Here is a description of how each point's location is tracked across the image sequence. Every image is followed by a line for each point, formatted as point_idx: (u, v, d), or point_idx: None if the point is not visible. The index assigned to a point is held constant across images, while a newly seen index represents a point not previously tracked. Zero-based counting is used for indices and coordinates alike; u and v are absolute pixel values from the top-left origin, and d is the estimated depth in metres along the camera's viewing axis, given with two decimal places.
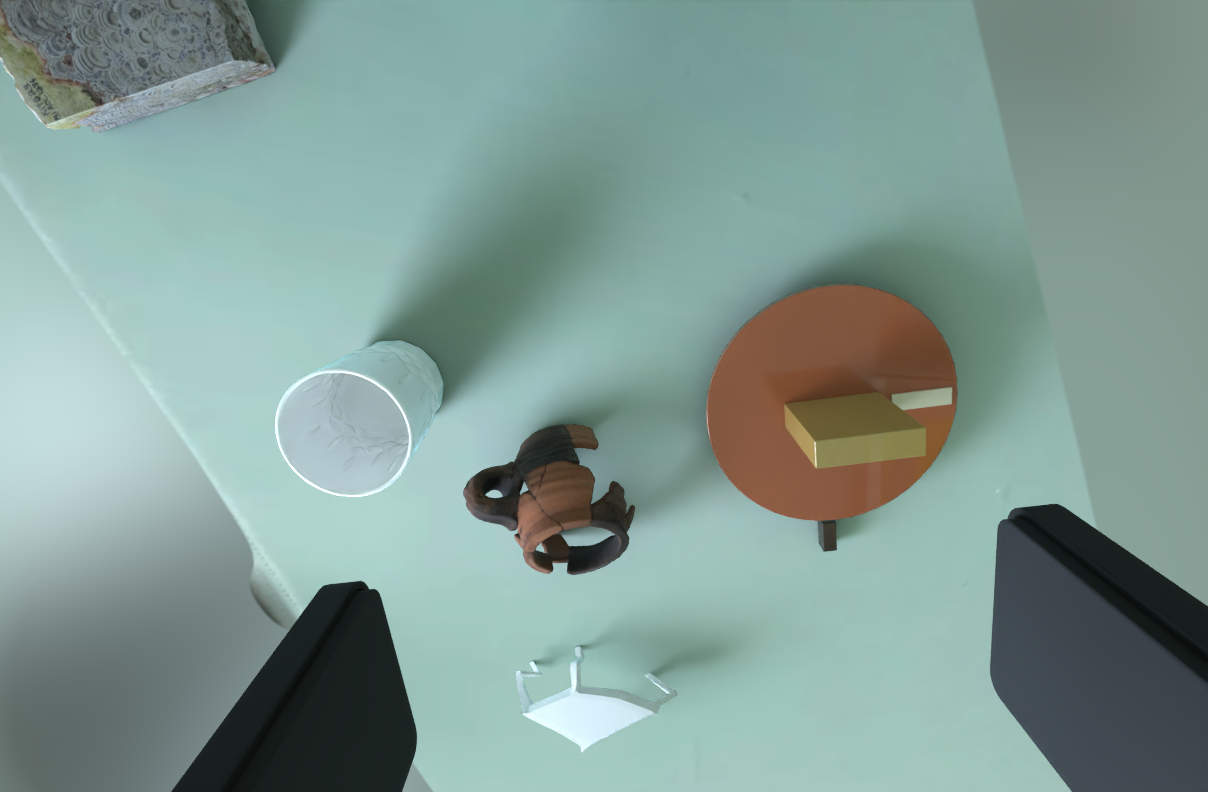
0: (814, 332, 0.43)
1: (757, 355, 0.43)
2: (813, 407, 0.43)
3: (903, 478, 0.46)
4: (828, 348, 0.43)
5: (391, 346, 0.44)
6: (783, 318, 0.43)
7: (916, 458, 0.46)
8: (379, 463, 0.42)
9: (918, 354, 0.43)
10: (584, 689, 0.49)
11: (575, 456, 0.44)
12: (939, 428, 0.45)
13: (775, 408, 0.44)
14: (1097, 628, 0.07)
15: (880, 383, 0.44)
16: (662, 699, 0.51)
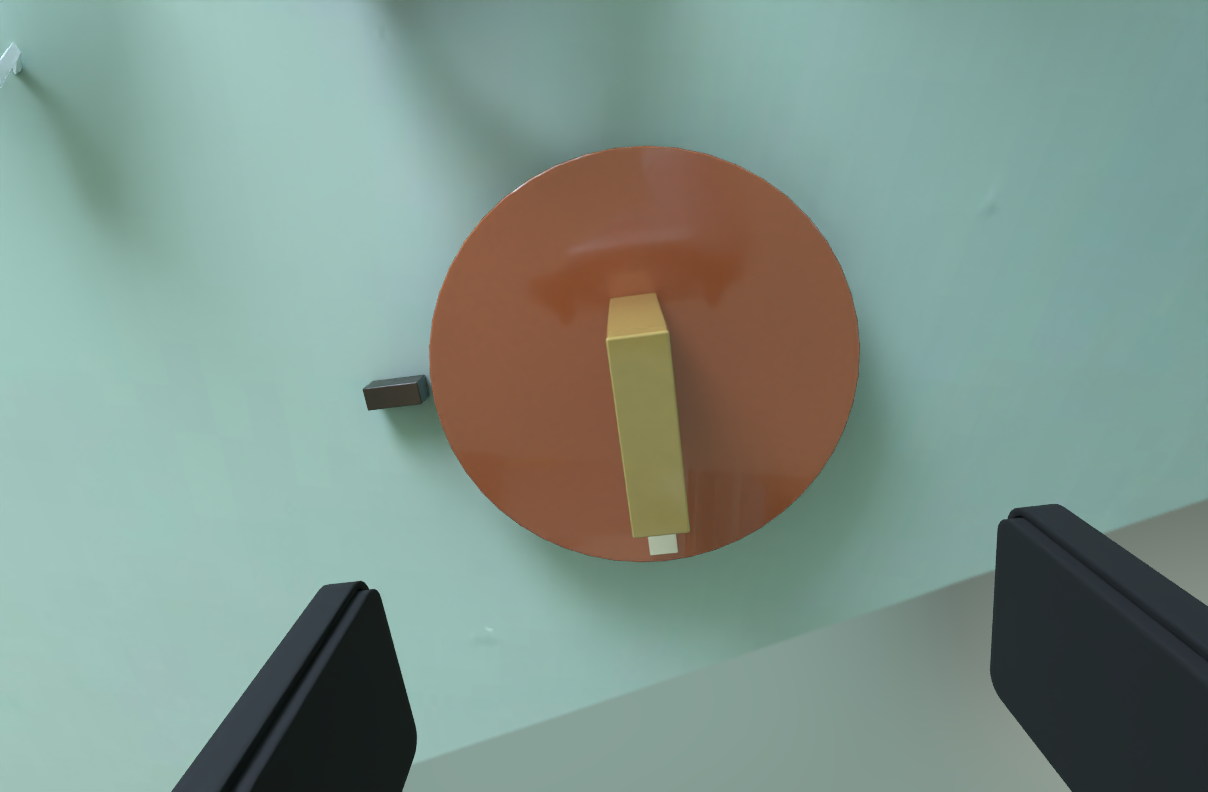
0: (782, 334, 0.25)
1: (747, 238, 0.24)
2: None
3: (520, 501, 0.28)
4: (753, 359, 0.25)
5: None
6: (811, 279, 0.24)
7: (554, 516, 0.28)
8: None
9: (732, 499, 0.27)
10: None
11: None
12: (607, 543, 0.28)
13: (646, 278, 0.25)
14: (1097, 628, 0.07)
15: (686, 448, 0.27)
16: None
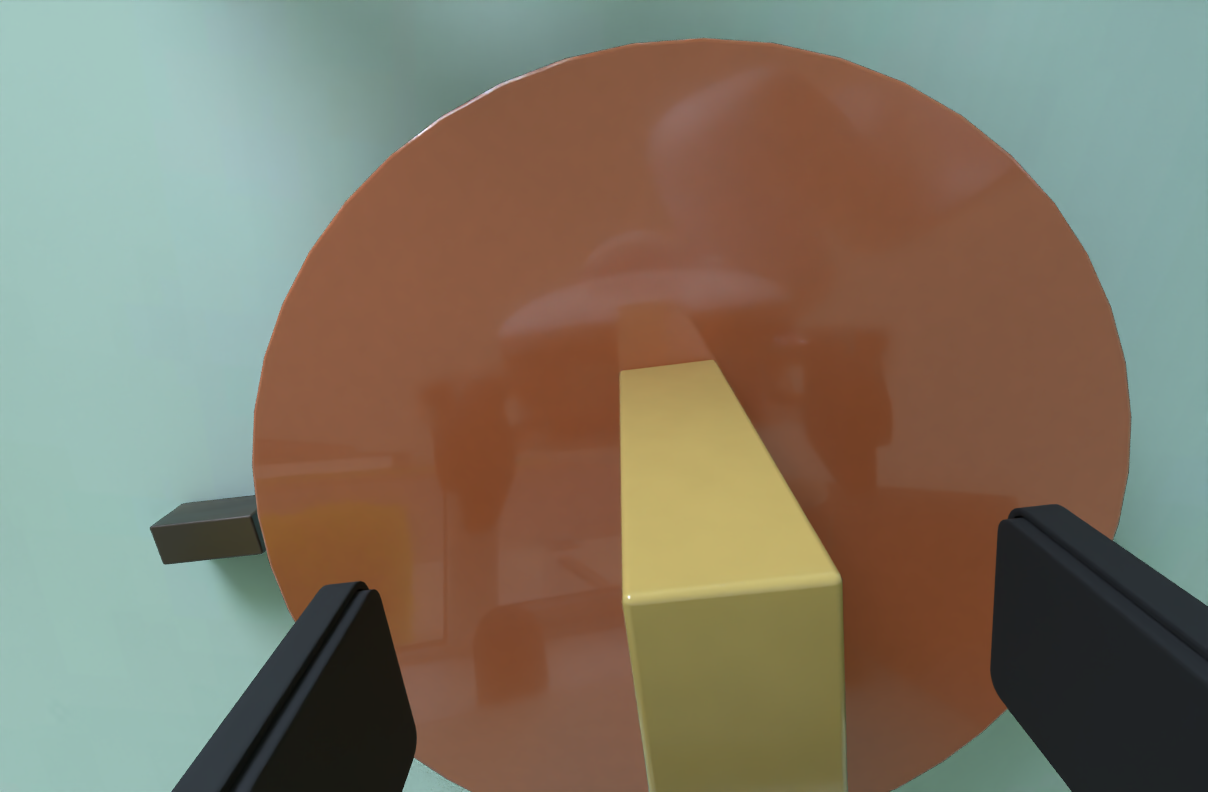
0: (972, 444, 0.12)
1: (918, 245, 0.11)
2: None
3: (445, 741, 0.15)
4: (908, 492, 0.13)
5: None
6: (1045, 333, 0.12)
7: (512, 766, 0.15)
8: None
9: (849, 740, 0.14)
10: None
11: None
12: None
13: (696, 329, 0.12)
14: (1097, 628, 0.07)
15: None
16: None
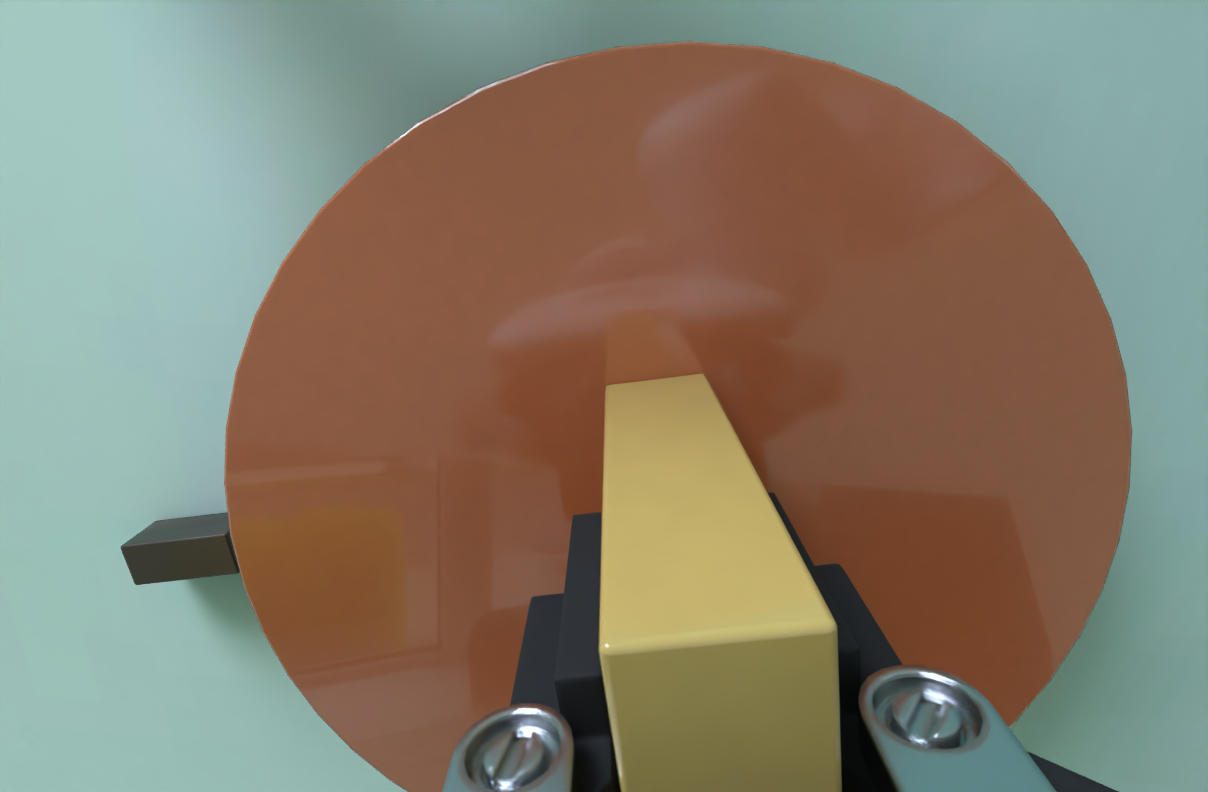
0: (969, 459, 0.12)
1: (913, 256, 0.11)
2: None
3: (429, 767, 0.14)
4: (904, 509, 0.12)
5: None
6: (1043, 346, 0.11)
7: None
8: None
9: None
10: None
11: None
12: None
13: (685, 342, 0.11)
14: None
15: None
16: None
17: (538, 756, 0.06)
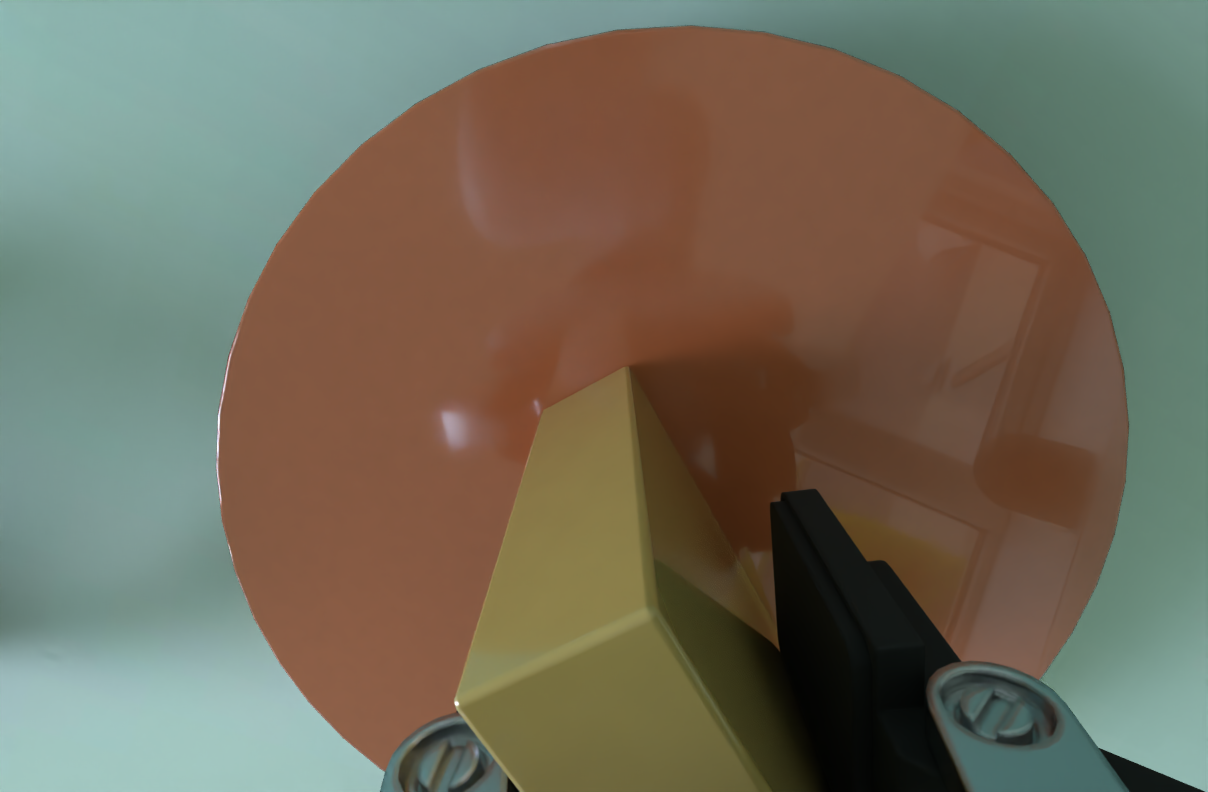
0: (925, 348, 0.11)
1: (777, 176, 0.10)
2: (678, 469, 0.10)
3: None
4: (881, 420, 0.12)
5: None
6: (951, 209, 0.11)
7: None
8: None
9: None
10: None
11: None
12: None
13: (597, 344, 0.11)
14: (805, 590, 0.09)
15: None
16: None
17: (473, 765, 0.06)
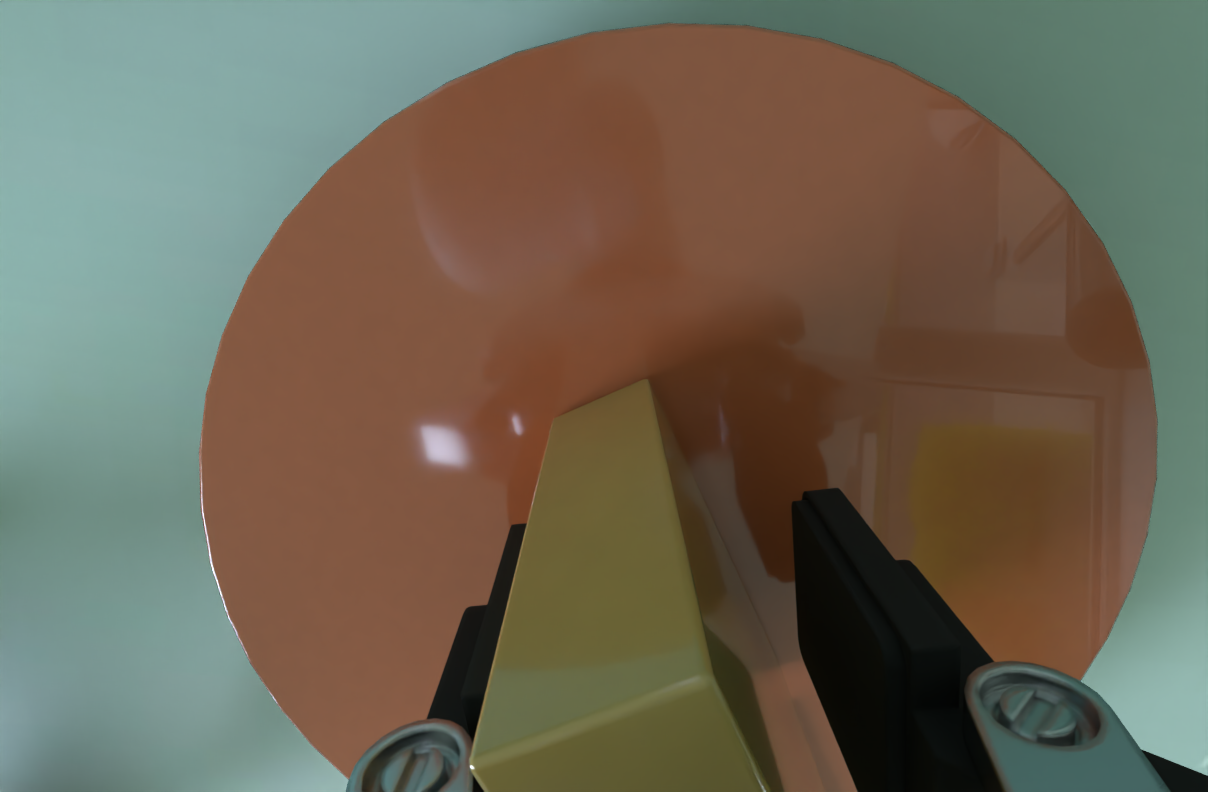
0: (958, 383, 0.11)
1: (822, 193, 0.10)
2: (695, 493, 0.10)
3: None
4: (904, 454, 0.11)
5: None
6: (999, 241, 0.10)
7: None
8: None
9: None
10: None
11: None
12: None
13: (616, 352, 0.11)
14: (832, 590, 0.09)
15: None
16: None
17: (437, 773, 0.06)
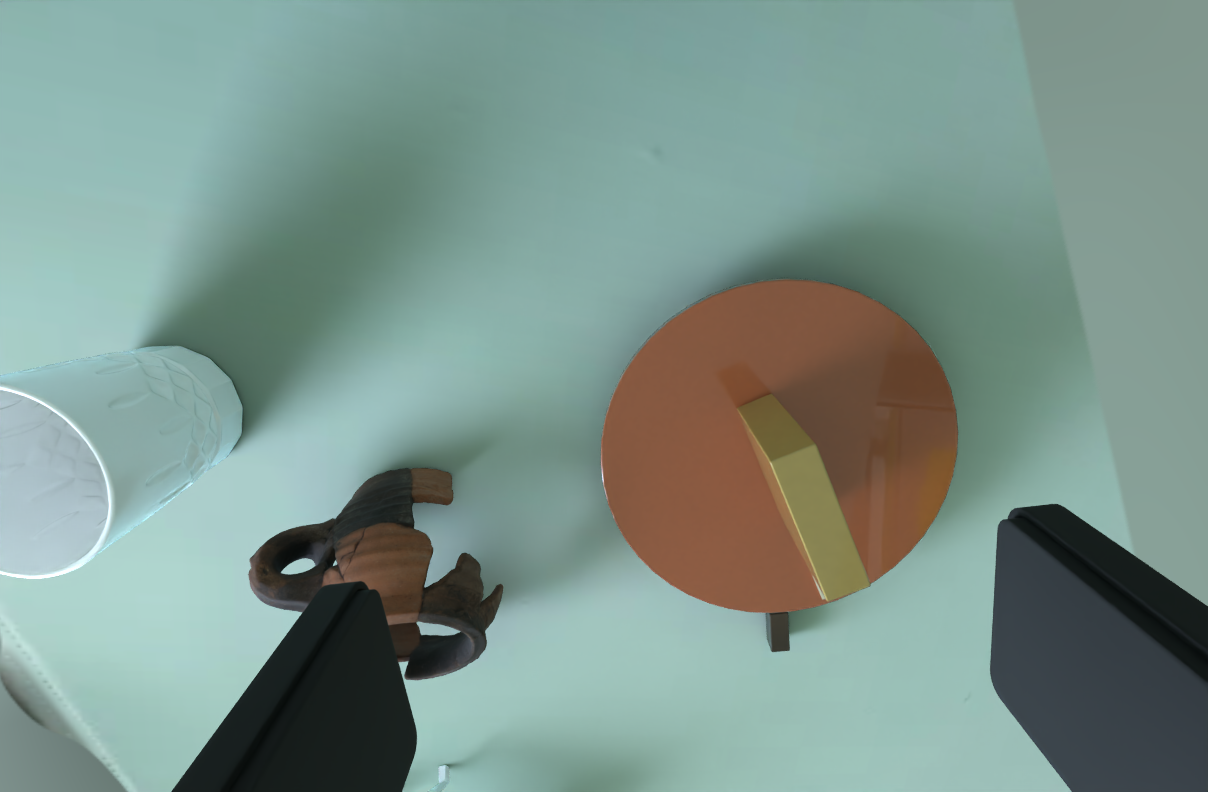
0: (883, 396, 0.30)
1: (834, 331, 0.30)
2: None
3: (703, 584, 0.33)
4: (864, 422, 0.31)
5: (151, 353, 0.31)
6: (894, 347, 0.30)
7: (735, 588, 0.33)
8: None
9: (878, 536, 0.32)
10: None
11: (409, 516, 0.31)
12: (784, 598, 0.33)
13: (761, 384, 0.30)
14: (1097, 628, 0.07)
15: None
16: None
17: None
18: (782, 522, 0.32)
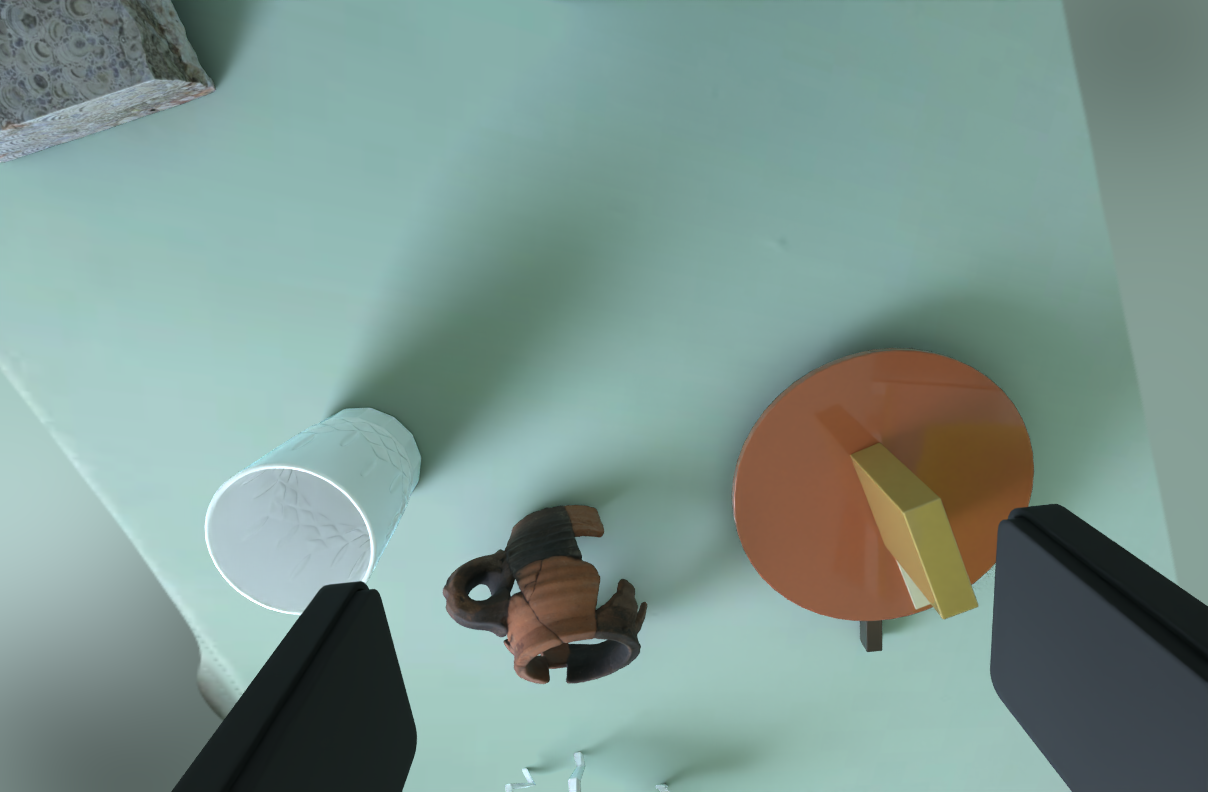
0: (972, 443, 0.36)
1: (934, 391, 0.35)
2: None
3: (815, 598, 0.39)
4: (956, 464, 0.37)
5: (357, 418, 0.37)
6: (983, 403, 0.36)
7: (842, 601, 0.39)
8: (340, 563, 0.35)
9: (964, 556, 0.38)
10: None
11: (577, 549, 0.37)
12: (883, 609, 0.40)
13: (871, 435, 0.36)
14: (1097, 628, 0.07)
15: None
16: None
17: None
18: (884, 546, 0.38)
